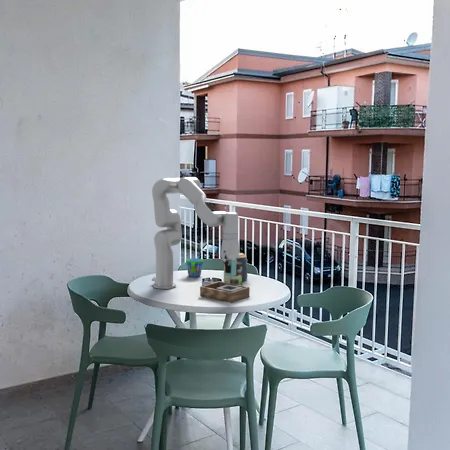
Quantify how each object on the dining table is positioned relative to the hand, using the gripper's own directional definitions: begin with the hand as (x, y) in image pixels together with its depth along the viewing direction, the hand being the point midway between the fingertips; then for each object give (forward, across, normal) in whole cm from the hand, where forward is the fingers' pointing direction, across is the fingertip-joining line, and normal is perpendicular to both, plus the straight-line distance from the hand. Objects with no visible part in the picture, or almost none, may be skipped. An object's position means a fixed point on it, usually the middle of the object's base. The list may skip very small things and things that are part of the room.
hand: (230, 271), depth 263 cm
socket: (+13, 0, -1) cm, 13 cm away
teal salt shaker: (+2, 0, 0) cm, 2 cm away
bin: (+13, 0, -4) cm, 14 cm away
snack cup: (+13, -26, -46) cm, 55 cm away
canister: (+13, -36, -22) cm, 44 cm away
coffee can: (+14, -18, -12) cm, 25 cm away
